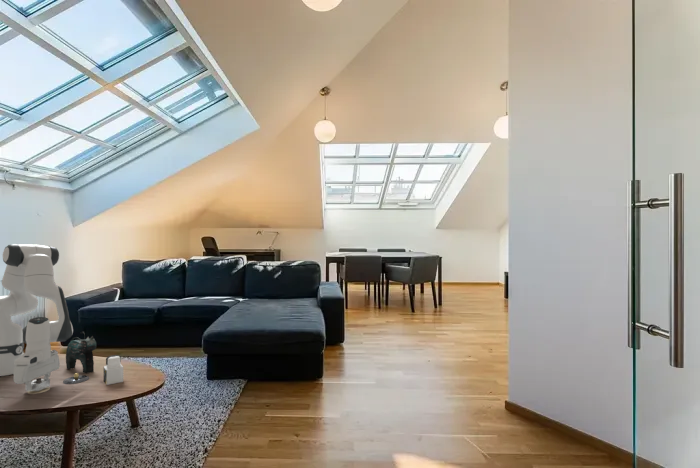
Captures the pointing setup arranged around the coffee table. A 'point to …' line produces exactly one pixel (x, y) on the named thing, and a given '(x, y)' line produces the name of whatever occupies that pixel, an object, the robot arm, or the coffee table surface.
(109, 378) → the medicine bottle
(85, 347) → the bull figurine
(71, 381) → the hub
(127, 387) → the coffee table surface
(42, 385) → the square tunnel block
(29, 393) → the stand
